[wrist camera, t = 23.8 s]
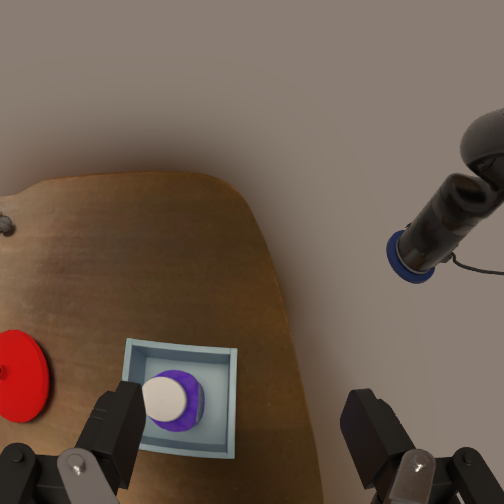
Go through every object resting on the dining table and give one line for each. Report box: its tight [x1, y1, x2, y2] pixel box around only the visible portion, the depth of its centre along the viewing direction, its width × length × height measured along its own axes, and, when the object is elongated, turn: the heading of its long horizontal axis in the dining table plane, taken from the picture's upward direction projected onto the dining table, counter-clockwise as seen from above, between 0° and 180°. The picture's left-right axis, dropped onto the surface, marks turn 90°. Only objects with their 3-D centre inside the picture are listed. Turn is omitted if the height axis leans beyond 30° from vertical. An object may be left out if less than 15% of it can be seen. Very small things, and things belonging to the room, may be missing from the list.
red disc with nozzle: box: [0, 330, 50, 423], centre depth 32 cm, size 16×16×7 cm
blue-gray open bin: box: [122, 338, 237, 459], centre depth 34 cm, size 14×14×9 cm
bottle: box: [142, 370, 205, 432], centre depth 30 cm, size 7×6×17 cm
